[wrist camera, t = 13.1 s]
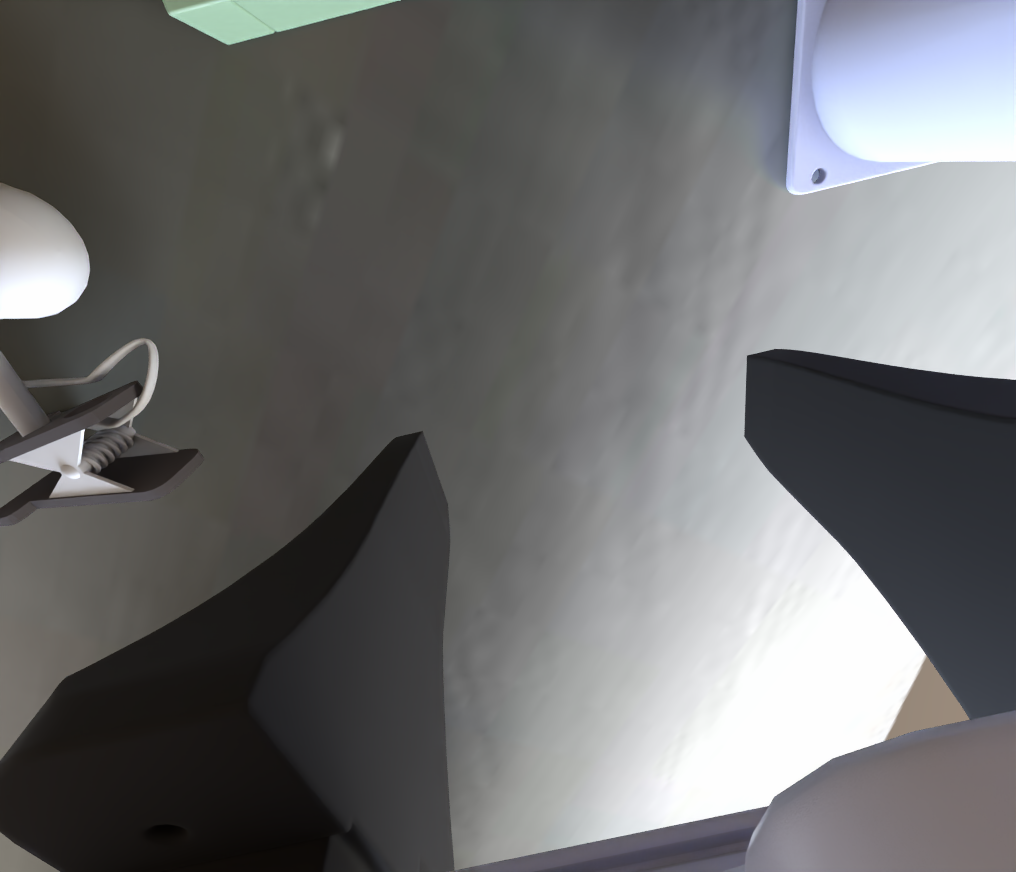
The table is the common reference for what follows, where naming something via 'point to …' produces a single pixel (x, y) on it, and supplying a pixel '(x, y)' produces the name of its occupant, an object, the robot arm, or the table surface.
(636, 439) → the table surface
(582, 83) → the table surface
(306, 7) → the holder
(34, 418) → the clip-on lamp
